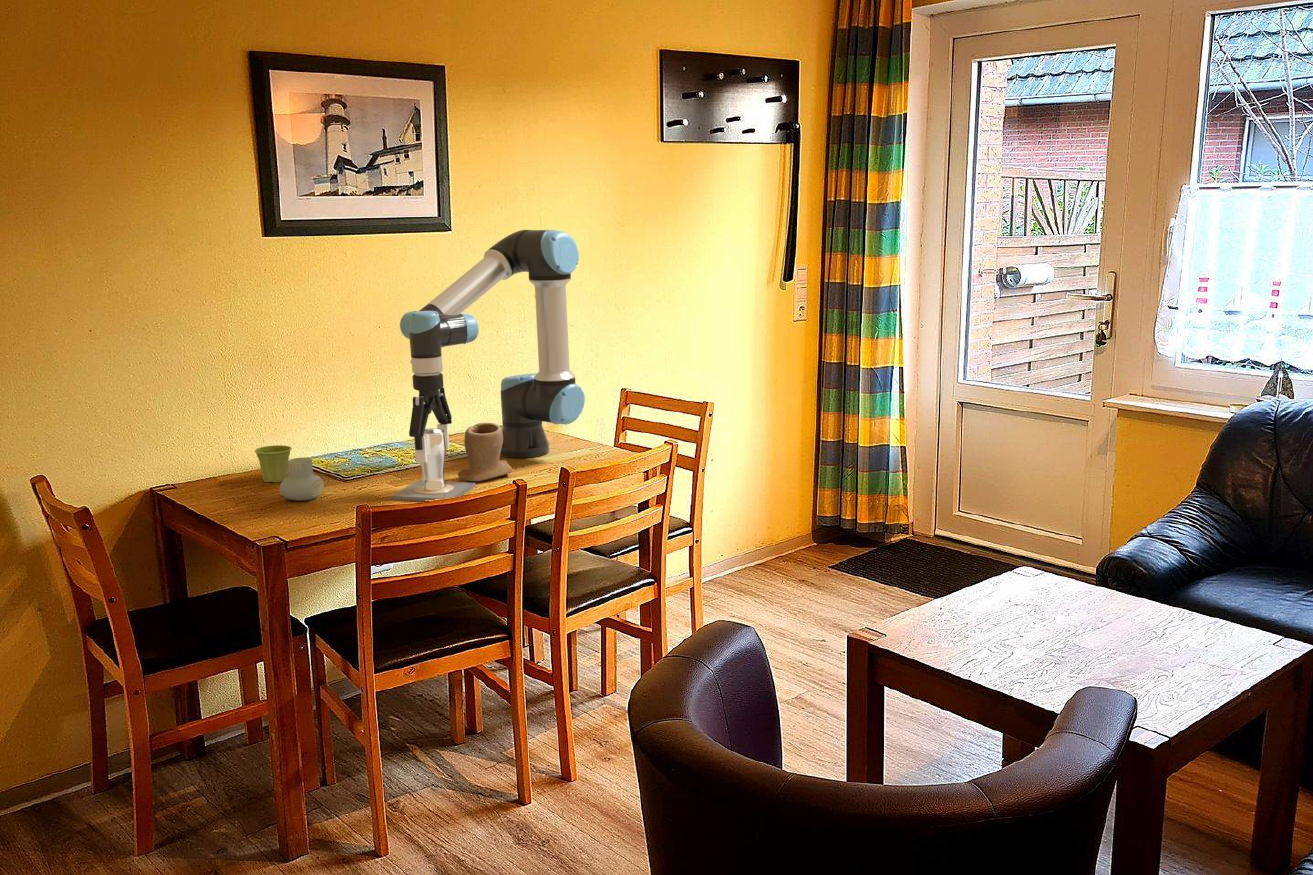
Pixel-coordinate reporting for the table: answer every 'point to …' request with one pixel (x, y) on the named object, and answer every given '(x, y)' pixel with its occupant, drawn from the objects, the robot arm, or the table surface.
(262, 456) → the plant pot
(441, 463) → the beer glass
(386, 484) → the table surface
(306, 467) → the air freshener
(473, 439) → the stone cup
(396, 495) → the slate board
